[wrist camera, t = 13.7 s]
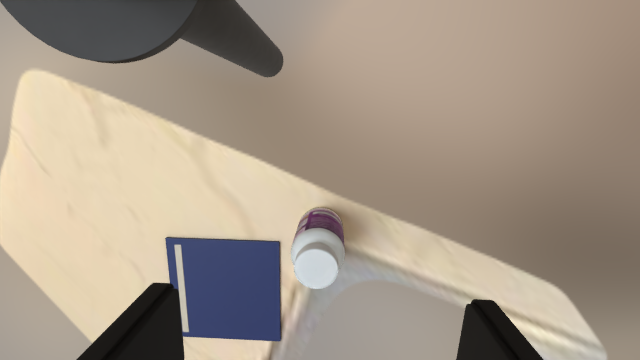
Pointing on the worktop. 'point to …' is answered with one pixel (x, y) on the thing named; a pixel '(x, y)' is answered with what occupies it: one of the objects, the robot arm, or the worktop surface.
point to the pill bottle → (318, 248)
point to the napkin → (227, 287)
